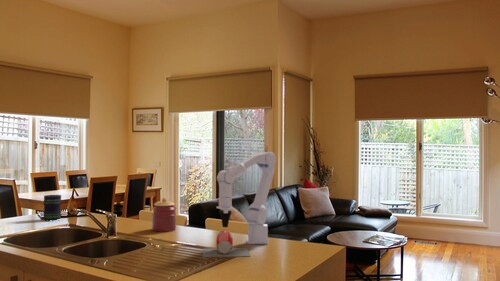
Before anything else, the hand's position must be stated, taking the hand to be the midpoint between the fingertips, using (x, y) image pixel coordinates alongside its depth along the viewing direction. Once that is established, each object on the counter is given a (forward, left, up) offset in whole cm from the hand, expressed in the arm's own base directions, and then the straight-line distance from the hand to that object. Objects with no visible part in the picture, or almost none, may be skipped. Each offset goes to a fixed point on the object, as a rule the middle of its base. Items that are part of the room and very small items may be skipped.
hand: (225, 227), depth 190 cm
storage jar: (+104, -79, -10) cm, 131 cm away
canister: (+32, -44, -10) cm, 56 cm away
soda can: (0, +1, -4) cm, 4 cm away
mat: (0, +9, -9) cm, 13 cm away
